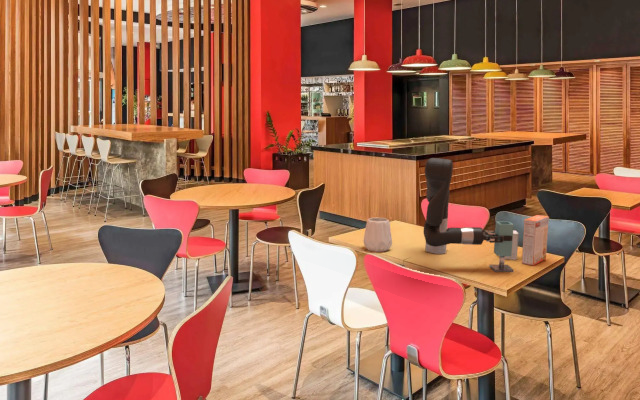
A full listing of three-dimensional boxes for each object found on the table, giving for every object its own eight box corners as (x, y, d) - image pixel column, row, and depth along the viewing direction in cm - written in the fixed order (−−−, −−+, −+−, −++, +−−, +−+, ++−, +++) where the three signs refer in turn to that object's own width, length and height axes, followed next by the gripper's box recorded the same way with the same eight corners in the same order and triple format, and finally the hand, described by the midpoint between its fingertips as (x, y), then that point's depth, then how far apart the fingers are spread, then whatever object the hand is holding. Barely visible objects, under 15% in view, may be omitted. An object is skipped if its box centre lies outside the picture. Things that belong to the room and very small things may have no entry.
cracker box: (533, 257, 253) (537, 214, 249) (546, 260, 248) (549, 216, 245) (520, 263, 243) (523, 218, 239) (533, 266, 239) (536, 220, 235)
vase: (368, 253, 257) (368, 223, 255) (360, 246, 271) (360, 217, 268) (395, 252, 260) (396, 221, 257) (386, 244, 274) (387, 216, 271)
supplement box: (517, 260, 248) (519, 233, 246) (500, 259, 249) (502, 232, 247) (514, 255, 255) (516, 230, 253) (498, 254, 257) (500, 229, 254)
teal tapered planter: (497, 256, 229) (500, 224, 227) (493, 252, 235) (495, 221, 233) (511, 256, 229) (513, 224, 227) (506, 252, 235) (509, 221, 233)
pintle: (494, 272, 230) (496, 254, 228) (489, 266, 237) (490, 249, 236) (513, 272, 229) (514, 254, 228) (507, 266, 237) (508, 249, 236)
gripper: (475, 231, 223) (515, 231, 223) (466, 224, 238) (504, 224, 237) (474, 248, 225) (514, 249, 224) (465, 240, 239) (503, 241, 238)
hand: (509, 236), depth 231 cm, fingers closed on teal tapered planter, 5 cm apart
